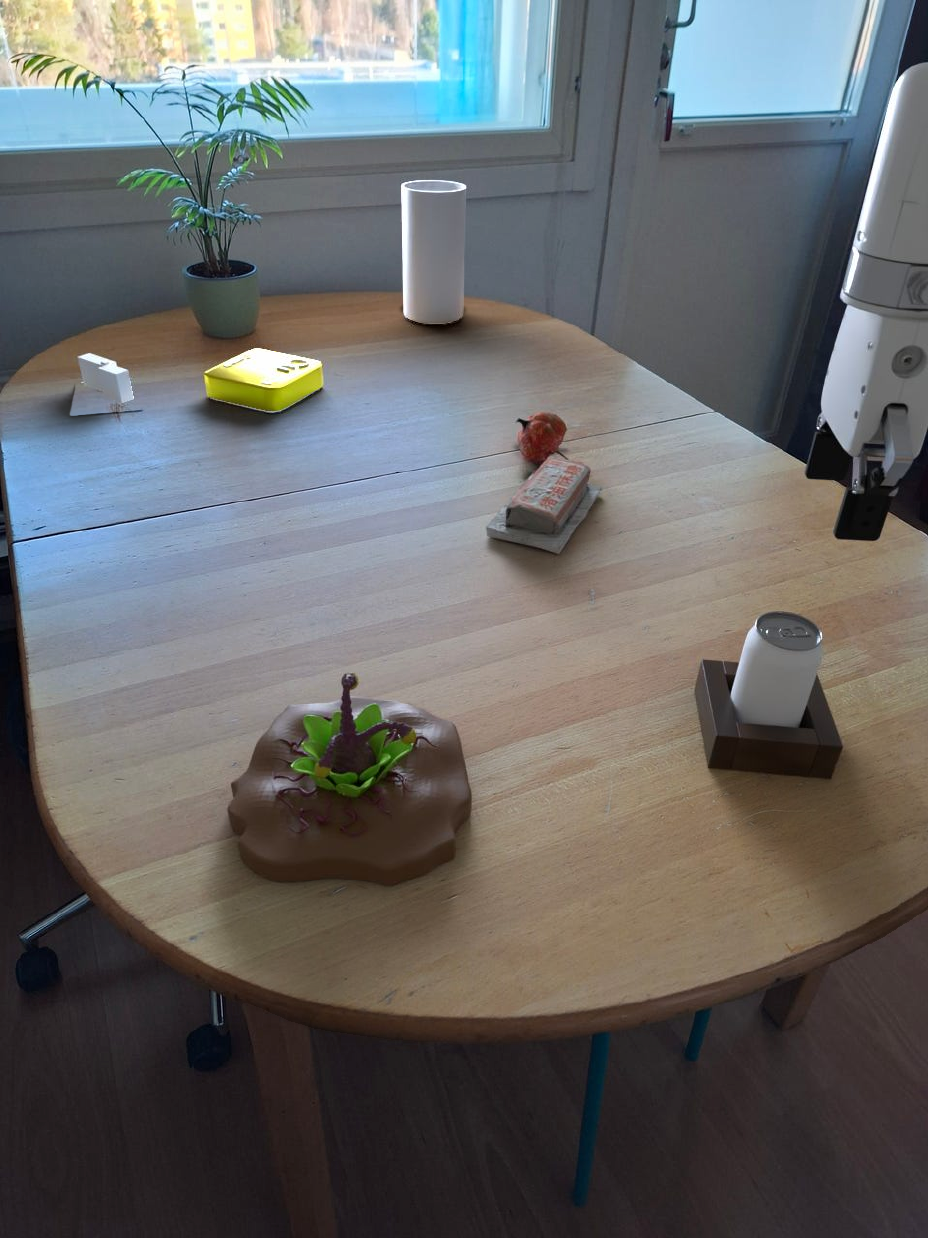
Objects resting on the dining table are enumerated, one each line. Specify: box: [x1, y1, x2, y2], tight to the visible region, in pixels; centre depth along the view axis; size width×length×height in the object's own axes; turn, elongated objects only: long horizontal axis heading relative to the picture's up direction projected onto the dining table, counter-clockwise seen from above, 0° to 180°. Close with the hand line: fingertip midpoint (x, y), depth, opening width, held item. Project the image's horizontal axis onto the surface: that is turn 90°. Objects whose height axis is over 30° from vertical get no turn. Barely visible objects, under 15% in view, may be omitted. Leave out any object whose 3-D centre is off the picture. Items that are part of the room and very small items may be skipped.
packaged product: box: [485, 456, 603, 555], centre depth 114 cm, size 18×5×10 cm
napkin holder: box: [77, 352, 134, 403], centre depth 142 cm, size 15×11×6 cm
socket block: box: [694, 658, 844, 780], centre depth 81 cm, size 11×11×4 cm
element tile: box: [203, 348, 325, 411], centre depth 146 cm, size 15×15×5 cm
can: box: [730, 610, 824, 728], centre depth 78 cm, size 6×6×12 cm
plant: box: [227, 672, 473, 886], centre depth 71 cm, size 20×20×11 cm
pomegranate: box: [515, 411, 570, 465], centre depth 127 cm, size 7×7×10 cm
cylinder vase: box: [401, 179, 467, 323], centre depth 176 cm, size 12×12×25 cm
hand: (838, 506), depth 68 cm, fingers open, 9 cm apart
